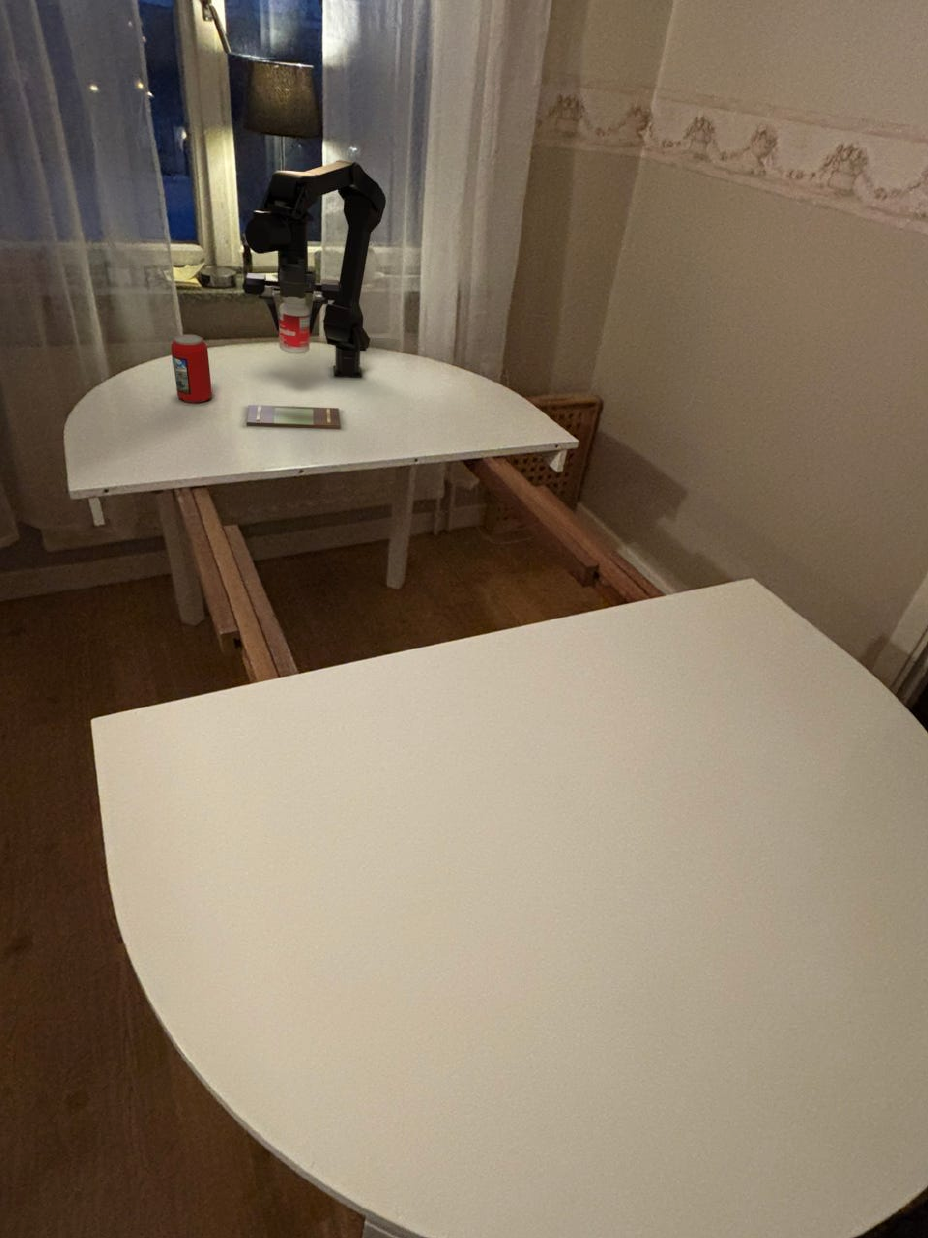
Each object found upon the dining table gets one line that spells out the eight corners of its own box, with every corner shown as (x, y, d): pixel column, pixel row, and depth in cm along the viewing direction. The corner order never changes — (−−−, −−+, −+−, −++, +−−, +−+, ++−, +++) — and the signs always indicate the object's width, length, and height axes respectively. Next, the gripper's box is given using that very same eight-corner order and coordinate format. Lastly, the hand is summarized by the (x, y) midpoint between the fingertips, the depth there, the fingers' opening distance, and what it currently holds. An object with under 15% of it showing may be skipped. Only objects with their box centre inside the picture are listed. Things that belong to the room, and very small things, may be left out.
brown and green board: (249, 408, 150) (248, 403, 150) (338, 411, 154) (338, 407, 153) (246, 426, 143) (246, 421, 143) (340, 429, 147) (340, 424, 146)
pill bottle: (273, 347, 153) (272, 290, 146) (296, 343, 157) (296, 288, 151) (293, 356, 150) (293, 298, 144) (315, 352, 154) (316, 296, 148)
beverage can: (175, 393, 153) (167, 333, 146) (209, 391, 155) (203, 332, 148) (180, 405, 148) (172, 344, 141) (215, 403, 151) (209, 343, 144)
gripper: (239, 251, 134) (244, 340, 143) (343, 261, 138) (341, 346, 147) (243, 240, 143) (248, 324, 152) (341, 249, 147) (339, 330, 156)
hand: (294, 331), depth 151 cm, fingers closed on pill bottle, 6 cm apart
